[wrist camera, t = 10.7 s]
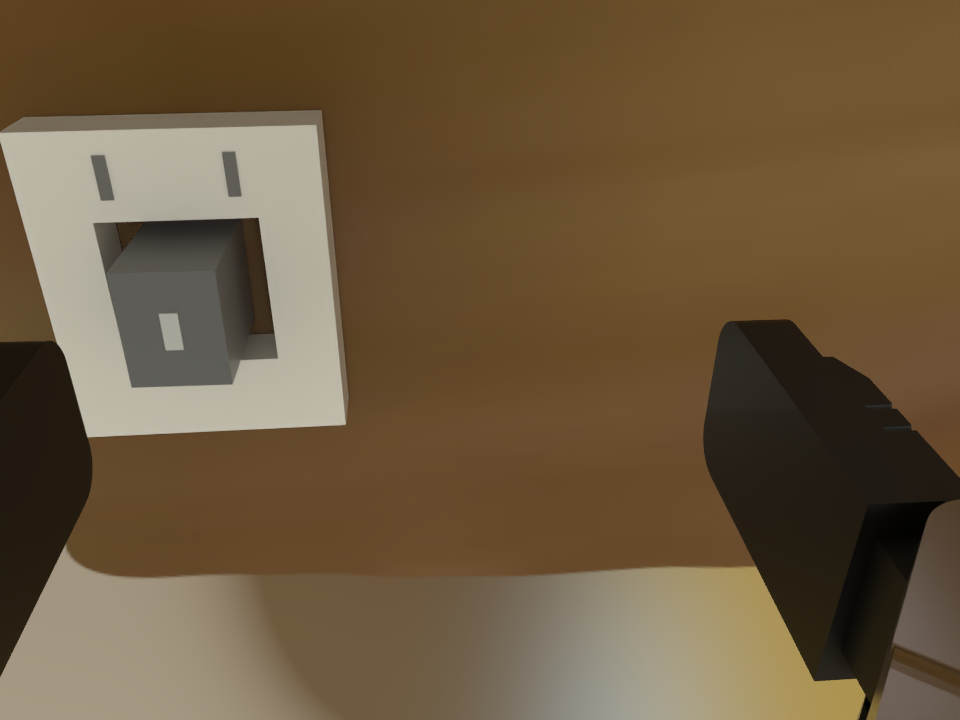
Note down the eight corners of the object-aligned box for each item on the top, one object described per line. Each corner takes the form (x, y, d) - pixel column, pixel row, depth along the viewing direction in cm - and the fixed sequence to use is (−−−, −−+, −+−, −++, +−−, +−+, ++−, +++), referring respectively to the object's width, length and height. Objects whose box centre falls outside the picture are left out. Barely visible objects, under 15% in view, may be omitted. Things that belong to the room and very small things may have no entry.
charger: (147, 218, 37) (105, 274, 32) (240, 216, 37) (214, 271, 32) (167, 321, 40) (130, 388, 34) (254, 318, 40) (232, 385, 35)
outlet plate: (23, 117, 35) (-4, 133, 32) (321, 110, 35) (315, 125, 33) (100, 408, 42) (82, 438, 39) (348, 396, 42) (345, 426, 40)
